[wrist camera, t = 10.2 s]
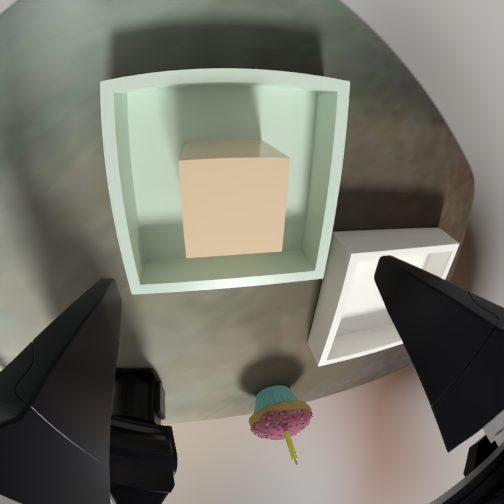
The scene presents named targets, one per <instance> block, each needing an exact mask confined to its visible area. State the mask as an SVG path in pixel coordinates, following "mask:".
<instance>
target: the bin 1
mask: <svg viewBox="0 0 504 504" xmlns="http://www.w3.org/2000/svg"><path fill="white" fill-rule="evenodd" d="M349 90H350V82H349V81H344V80H339V79H334V78H329V77H323V76H317V75H310V74H303V73H295V72H285V71H275V70H261V69H236V68H212V69H187V70H174V71H163V72H154V73H146V74H139V75H133V76H126V77H121V78H115V79H110V80H105V81H101V82H100V96H101V121H102V135H103V147H104V156H105V165H106V173H107V180H108V187H109V194H110V200H111V206H112V212H113V217H114V222H115V227H116V232H117V237H118V241H119V246H120V250H121V255H122V259H123V263H124V267H125V271H126V275H127V278H128V282H129V286H130V289H131V293H132V294H150V293H166V292H182V291H196V290H209V289H221V288H233V287H245V286H256V285H266V284H276V283H286V282H296V281H305V280H314V279H323V277H324V272H325V267H326V262H327V257H328V252H329V247H330V241H331V236H332V230H333V225H334V219H335V213H336V206H337V200H338V193H339V187H340V179H341V172H342V164H343V156H344V147H345V138H346V128H347V117H348V104H349ZM207 140H263V141H265V142H266V143H268V144H269V145H271V146H272V147H274V148H275V149H277V150H279V151H280V152H282V153H283V154H285V155H286V156H288V157H289V158H290V162H289V175H288V188H287V201H286V212H285V224H284V235H283V245H282V251H281V252H267V253H253V254H239V255H226V256H212V257H198V258H186V250H185V240H184V230H183V219H182V207H181V193H180V178H179V158H180V155H181V152H182V149H183V146H184V143H185V142H189V141H207Z"/></svg>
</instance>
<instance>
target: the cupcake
mask: <svg viewBox="0 0 504 504" xmlns="http://www.w3.org/2000/svg"><path fill="white" fill-rule="evenodd" d="M311 417H313V416H312V413H311V408H310V407H309V405H307V404H306V403H305V402H303V401H300V400H298V399H297V398H296V397H295V396H294V394H293V393H292V392H291V391H290V389H289V388H288V387H287V386H284V385H275V386H270V387H267V388H265V389H263V390H261V391H260V392H259V393H258V394H257V396H256V404H255V410H254V414H253V415H252V416H251V417H250V418H249V424H250V426H251V431H252V432H254V434H255V435H258V437H259V436H260V437H261V438H262V437H263V438H267V439H268V438H269V439H273V440H276V439H277V440H279V439H286V442H287V445H288V448H289V451H290V455H291V458H292V460H294V461H295V463H296V465H297V461H296V460H297V455H296V452H295V449H294V446H293V443H292V440H291V437H290V436H293V435H296V434H297V433H298V432H300V431H301V430H303V429H304V428H305V427H306V426H307V425H308V424H309V422H310V419H311Z"/></svg>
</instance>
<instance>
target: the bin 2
mask: <svg viewBox="0 0 504 504" xmlns="http://www.w3.org/2000/svg"><path fill="white" fill-rule="evenodd" d="M458 246H459V243H458V242H457V241H455V240H454V239H453V238H452V237H450V236H449V235H448V234H446V233H445V232H444V231H442V230H441V229H440V228H438V227H436V228H406V229H380V230H357V231H336V232H332V236H331V241H330V247H329V252H328V257H327V262H326V267H325V272H324V277H323V279H322V284H321V288H320V293H319V297H318V301H317V306H316V310H315V314H314V318H313V322H312V327H311V331H310V334H309V338H308V345H309V347H310V349H311V352H312V354H313V356H314V359H315V361H316V363H317V366H322V365H327V364H331V363H335V362H340V361H344V360H348V359H351V358H355V357H359V356H363V355H366V354H370V353H373V352H377V351H380V350H383V349H387V348H390V347H393V346H396V345H399V344H402V343H403V342H402V340H401V338H400V336H399V334H398V332H397V330H396V328H395V326H394V324H393V322H392V320H391V318H390V316H389V314H388V312H387V309H386V307H385V305H384V302H383V300H382V297H381V295H380V293H379V290H378V288H377V286H376V283H375V281H374V273H375V270H376V267H377V264H378V260H379V258H380V257H381V256H386V255H391V256H394V257H396V258H398V259H400V260H403V261H405V262H407V263H409V264H412V265H414V266H416V267H418V268H421V269H423V270H425V271H427V272H429V273H432V274H434V275H436V276H438V277H440V278H442V279H444V280H445V278H446V276H447V274H448V271H449V269H450V266H451V264H452V262H453V259H454V256H455V254H456V251H457V249H458Z"/></svg>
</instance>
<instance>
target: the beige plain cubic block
mask: <svg viewBox="0 0 504 504" xmlns="http://www.w3.org/2000/svg"><path fill="white" fill-rule="evenodd" d="M289 162H290V158H289V157H288V156H286V155H285V154H283V153H282V152H280V151H279V150H277V149H275V148H274V147H272V146H271V145H269V144H268V143H266V142H265V141H263V140H207V141H189V142H185V143H184V146H183V149H182V152H181V155H180V158H179V178H180V193H181V207H182V219H183V230H184V240H185V250H186V258H198V257H212V256H226V255H239V254H253V253H267V252H281V251H282V245H283V235H284V224H285V212H286V201H287V188H288V175H289Z"/></svg>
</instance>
